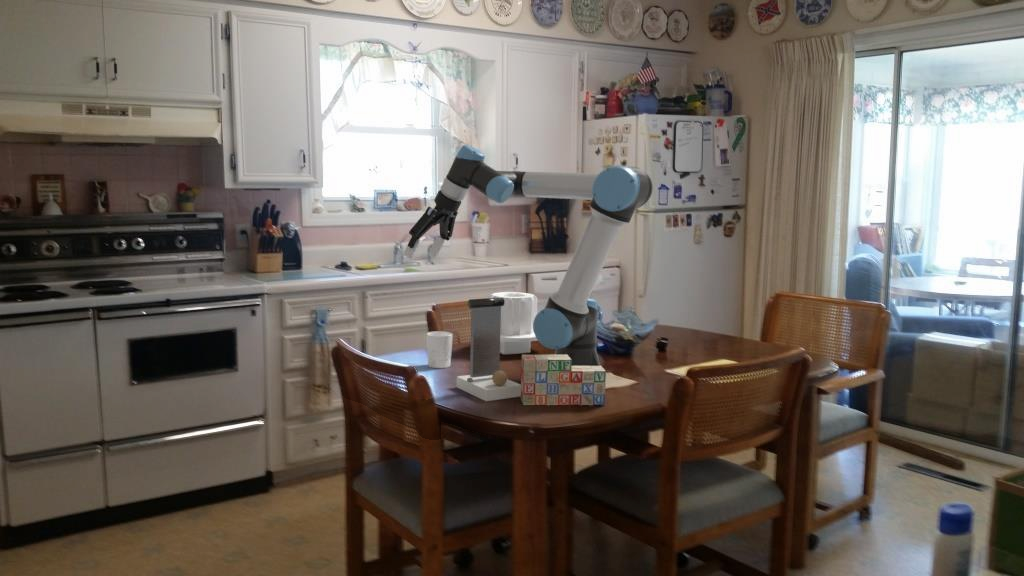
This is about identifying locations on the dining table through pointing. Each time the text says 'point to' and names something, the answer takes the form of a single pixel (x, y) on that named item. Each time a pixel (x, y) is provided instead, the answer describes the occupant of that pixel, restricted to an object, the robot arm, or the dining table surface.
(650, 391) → the dining table surface
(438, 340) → the white cup
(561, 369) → the stack of blocks
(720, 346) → the dining table surface
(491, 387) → the white slotted base
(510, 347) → the ribbed cylinder on disc
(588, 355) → the robot arm
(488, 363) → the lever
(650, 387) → the dining table surface
